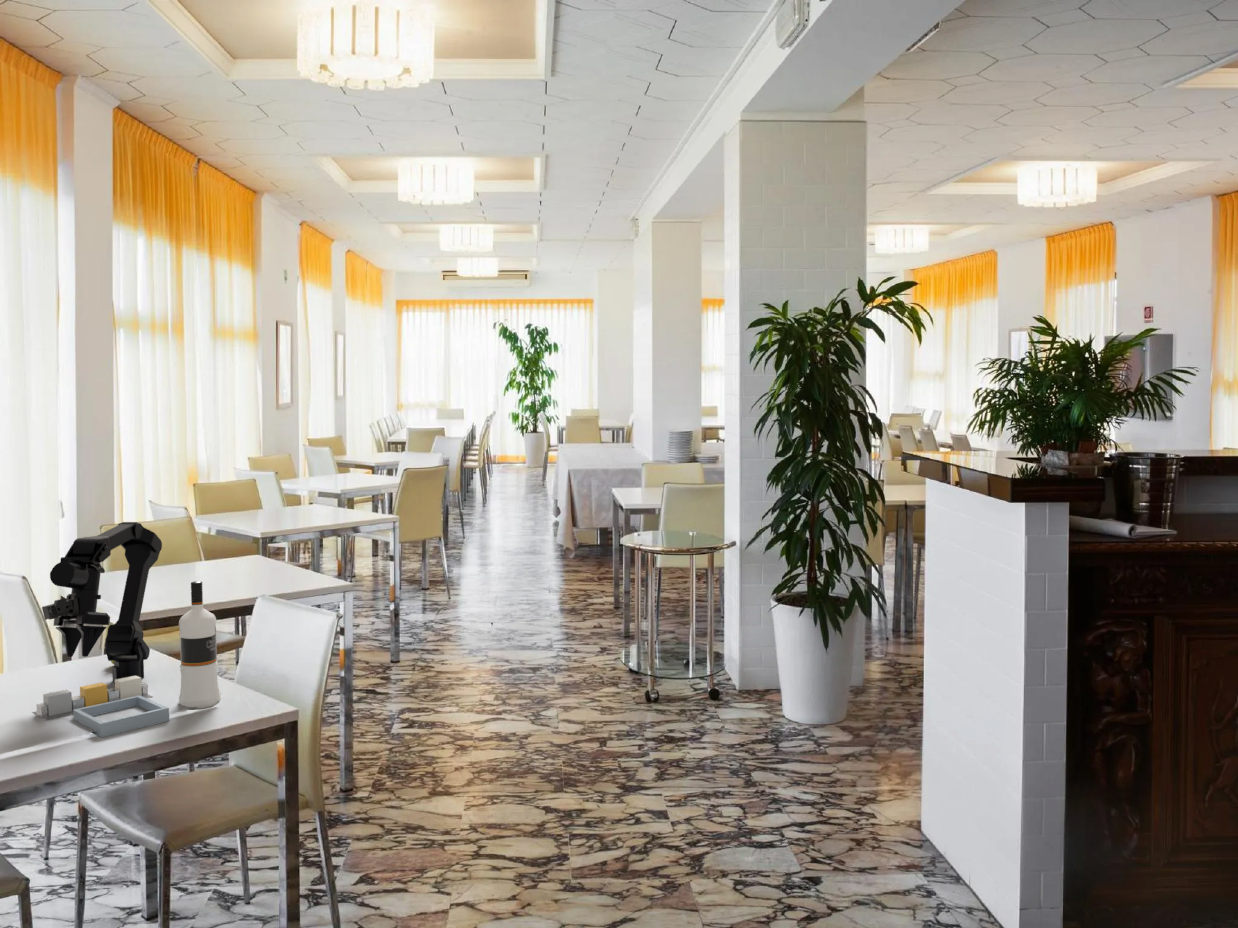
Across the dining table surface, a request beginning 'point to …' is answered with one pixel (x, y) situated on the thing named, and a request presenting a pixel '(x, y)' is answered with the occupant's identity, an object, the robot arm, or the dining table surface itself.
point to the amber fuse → (94, 694)
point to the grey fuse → (58, 702)
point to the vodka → (198, 654)
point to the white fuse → (128, 687)
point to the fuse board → (79, 703)
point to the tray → (123, 724)
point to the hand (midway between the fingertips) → (77, 656)
